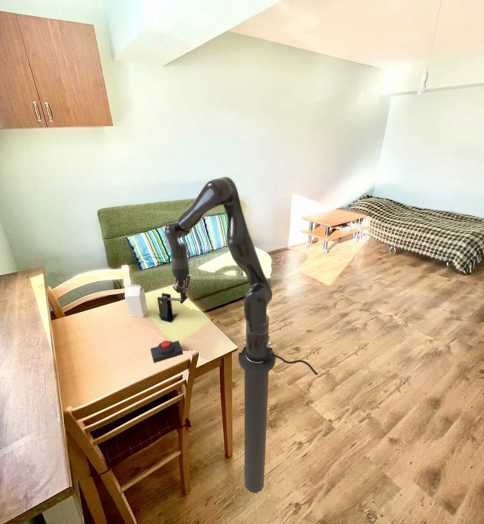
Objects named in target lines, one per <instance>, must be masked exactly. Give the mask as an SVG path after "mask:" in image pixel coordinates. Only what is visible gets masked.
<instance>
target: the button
mask: <svg viewBox="0 0 484 524" xmlns="http://www.w3.org/2000/svg"><path fill="white" fill-rule="evenodd" d="M170 341H171V340H163V341H162V343H161V342H160V343H161V347H162V349H168V348H170Z"/></svg>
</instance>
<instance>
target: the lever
mask: <svg viewBox="0 0 484 524" xmlns="http://www.w3.org/2000/svg"><path fill="white" fill-rule="evenodd" d="M161 297H162V298H166V301H171V302H179V303H180V304H184V303H185V301H187V299H188V297H189V296H187V295H186V298H185V299H181V297H171V298H168V297H167V296H162V295H161Z"/></svg>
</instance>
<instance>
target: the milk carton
mask: <svg viewBox="0 0 484 524" xmlns="http://www.w3.org/2000/svg"><path fill="white" fill-rule="evenodd" d="M124 299H125V304H126V308H127V313H128V316H129V317H131V318H145V316H146V315H147V313H148V312H149V309H148V303H147V297H146V294H145V289H144V287H142V286H141V284H125V289H124Z"/></svg>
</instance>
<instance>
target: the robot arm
mask: <svg viewBox="0 0 484 524" xmlns="http://www.w3.org/2000/svg"><path fill="white" fill-rule="evenodd" d="M221 206H223V209H224V211H225V214H226V221H227V222H226V223H227V225H226V244H227V248H228V250H229V252H230V254H231V257H232V260H233V261H234V262H235V264H236V265H237V266H238V267H239V268H240V269H241V270H242V271H243V273H244V274H245V275H246V278H247V281H248V284H249V289H248V291H247V292H246V293H245V295H244V297H243V314H244V315H243V316H244V319H245V346H244V347H245V349H246V359H247V360H248V361H249V362H250V363H253V364H262V363H265V364H266V362H267V360H268V361H270V360H271V357H272V356H274V357H276V358H277V359H278V360H280V361H282V362H283V363H285V364H287V365H291V364H297V363H302V364H305V365H306V366H308V368H309V369H310V370H311V372H312V373H313V374H314V375H315V376H318V375H319V374H318V372H317V371H316V370H315V369H314V368H313V366H312V365H311V364H310V363H309V362H307V361H305V360H303V359H297V360H292V361H291V360H290V361H289V360H286V359H285V358H283V357H282V356H279V355H277V354H276V353H275V354H272V352H274V350H273V349H274V348H273V347H270V344H271V342H270V341H271V340H270V338H271V337H270V335H269V334H270V317H269V315H268V314H267V308H268V306H269V304H270V303H271V302H272V299H273V290H272V287H271V285H270V283H269V281H268V279H267V277H266V275H265V272H264V271H263V268H262V265H261V262H260V258H259V256H258V253H257V250H256V247H255V244H254V241H253V238H252V236H251V234H250V231H249V228H248V224H247V221H246V218H245V216H244V212H243V207H242V204H241V199H240V195H239V191H238V188H237V185H236V183H235V182H234V180H233V179H232V178H231V177H229V176H222V177H218V178H213V179H211V180H209V181H207V182H206V183H205V185H204V186H203V187H202V188H201V190H200V192H199V193H198V195H197V196H196V198H195V199H194V200H193V202H192V203H191V204H190V206H189V207H187V208H186V209H185V210H184V211H183V212H182V213H181V214H180V215H179V217H178V218H177V221H174V222H170V223H168V224H166V225H165V227H164V231H163V233H164V236H165V238H166V241H167V243H168V245H169V248H170V257H171V262H170V263H171V270H172V276H173V277H174V278H175V281H174V282H175V285H173V286H172V289H173V290H174V291H175V292H176V293H177V294H179V295H180V298H181V299H185V298H186V296H187V291H188V290H187V289H188V288H189V285H190V281H191V276H190V265H189V264H190V263H189V256H188V247H187V244H186V243H185V242H182V241H179V240H178V239H181V238H184V237H186V236H188V235H189V234H190V233H191V231H192V229H193V228H194V227H196V226H197V225H198V224H199V223H200V222H201V221H202V220H203V218H204V215H205V214H206V213H207V212H209V211H211V210H213V209H215V208H216V207H221Z"/></svg>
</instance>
